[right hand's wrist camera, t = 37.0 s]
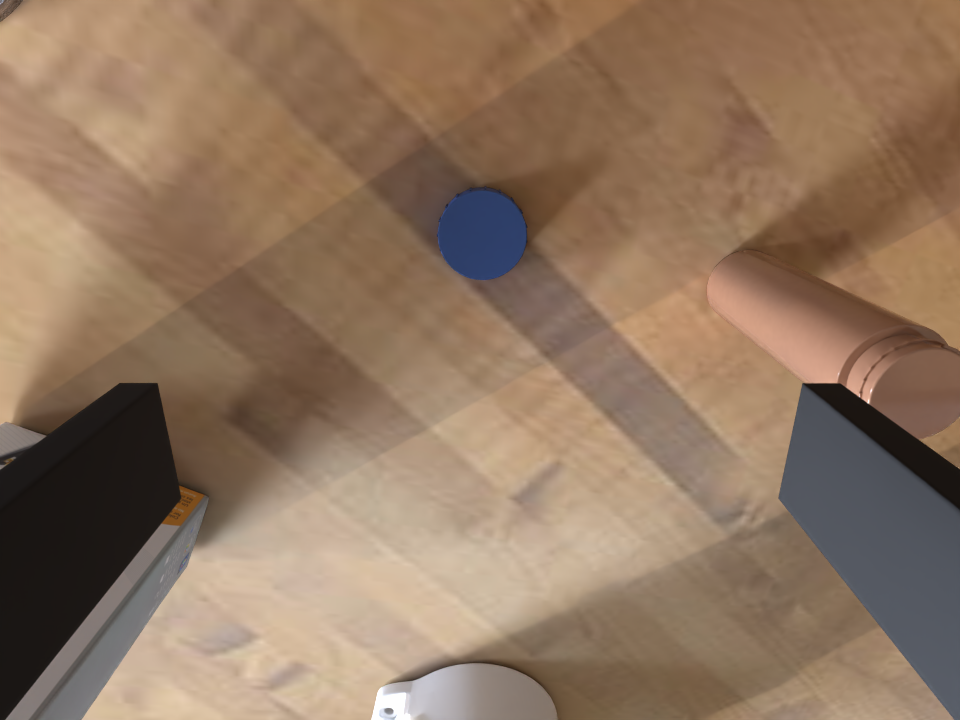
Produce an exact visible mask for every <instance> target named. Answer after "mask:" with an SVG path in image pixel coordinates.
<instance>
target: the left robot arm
mask: <svg viewBox="0 0 960 720" xmlns="http://www.w3.org/2000/svg"><path fill="white" fill-rule="evenodd" d="M372 720H558V717H557V712H556V708H555V705H554V703H553V701H552V699H551V697H550V696H549V694H548V693H547V692H546V690H545V689H544V688H543V687H542V686H541V685H540V684H538V683H537V682H536V681H535V680H533V679H532V678H530V677H528V676H527V675H525V674H523V673H521V672H518V671H516V670H513V669H511V668H507V667H504V666H499V665H494V664H485V663H468V664H459V665H454V666H449V667H446V668H442V669H439V670H437V671H434V672H432V673H430V674H428V675H426V676H424V677H422V678H419V679H417V680H414V681H406V682H397V683H392V684H388V685H385V686H383V687H381V688H380V690H379V691H378V695H377V699H376V703H375V708H374V712H373V717H372Z"/></svg>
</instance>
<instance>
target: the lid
mask: <svg viewBox="0 0 960 720" xmlns="http://www.w3.org/2000/svg"><path fill="white" fill-rule="evenodd" d="M445 208H446V209H445V211H444V213H443V215H442V217H440V219H439V222H440V223H439V228H438V234H437V237H438V243H439V247H440V251H441V253H442V255H443V257H444V259H445V260H446V262H447V263H448V264H449V265H450V266H451V267H452V268H453V269H454V270H455V271H456V272H458V273H459V274H461V275H463V276H465V277H468V278H471V279H476V280H488V279H493V278H497V277H499V276H502V275H504V274H505V273H507V272H508V271H510V270H511V269H512V268H513V267H514V266H515V265H516V264H517V263H518V261H519V260H520V258H521V257H522V255H523V252H524V250H525V246H526V243H527V229H526V228H527V225H526V223H525V220H524V218H523V216H522V214H523V212H522V210H521V209H519V208H518V206H517V205H516V203H515V202H514V200H513V198H512V197H511V198H510V197H509V196H507V195H506V194H504V193H502V192H501V190H499V191H498V190H496V189H492V188H486V186H485V187H479V188H470V189H469V190H466V191H464V192H462V193H460V194H457V195H456V197H455V198H454V199H453V200H452V201H451V202H450V203H449V204H447V205H446V207H445Z"/></svg>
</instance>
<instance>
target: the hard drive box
mask: <svg viewBox="0 0 960 720" xmlns="http://www.w3.org/2000/svg"><path fill="white" fill-rule="evenodd" d="M45 437H46V435H42V434H39V433H36V432H34V431H31V430H28V429H25V428H22V427H19V426H17V425H14V424H11V423H8V422H5V423H3V424H1V425H0V469H2V468H3V467H4V466H6V465H7V464H9V463H10V462H11V461H13V460H14V459H16V458H17V457H18V456H20V455H21V454H22V453H24V452H25V451H27V450H28V449H29V448H31V447H32V446H34V445H35V444H36V443H38V442H39V441H40V440H42V439H43V438H45ZM179 488H180V493H181V500H180V501H179V502H178V503H177V505H176V506H175V507H174V508H173V510H172V511H171V512H170V513H169V515H168V516H167V517H166V518H165V520H164V521H163V522H162V524H161V525H160V526H159V527H158V529H157V530H156V531H155V532H154V534H153V535H152V536H151V537H150V539H149V540H148V541H147V542H146V544H145V545H144V546H143V547H142V549H141V550H140V551H139V552H138V554H137V555H136V556H135V557H134V559H133V560H132V561H131V563H130V564H129V565H128V566H127V568H126V569H125V570H124V571H123V573H122V574H121V575H120V576H119V578H118V579H117V580H116V581H115V583H114V584H113V585H112V586H111V588H110V589H109V590H108V591H107V593H106V594H105V595H104V596H103V598H102V599H101V600H100V601H99V603H98V604H97V605H96V607H95V608H94V609H93V610H92V612H91V613H90V614H89V615H88V617H87V618H86V619H85V620H84V622H83V623H82V624H81V625H80V627H79V628H78V629H77V630H76V632H75V633H74V634H73V635H72V637H71V638H70V639H69V640H68V642H67V643H66V644H65V646H64V647H63V648H62V649H61V651H60V652H59V653H58V654H57V656H56V657H55V658H54V659H53V661H52V662H51V663H50V664H49V666H48V667H47V668H46V669H45V671H44V672H43V673H42V674H41V676H40V677H39V678H38V679H37V681H36V682H35V683H34V684H33V686H32V687H31V688H30V690H29V691H28V692H27V693H26V695H25V696H24V697H23V698H22V700H21V701H20V702H19V703H18V705H17V706H16V707H15V708H14V710H13V711H12V712H11V713H10V715H9V716H8V717H7V718H6V720H81V719H82V718H83V717H84V715H85V714H86V712H87V711H88V709H89V708H90V706H91V705H92V703H93V702H94V701H95V699H96V698H97V696H98V695H99V693H100V692H101V690H102V689H103V688H104V686H105V685H106V683H107V682H108V680H109V679H110V677H111V676H112V674H113V673H114V671H115V670H116V668H117V667H118V665H119V664H120V662H121V661H122V660H123V658H124V657H125V655H126V654H127V652H128V651H129V649H130V648H131V646H132V645H133V643H134V642H135V640H136V639H137V637H138V636H139V634H140V633H141V631H142V630H143V629H144V627H145V626H146V624H147V623H148V621H149V620H150V618H151V617H152V615H153V614H154V612H155V611H156V609H157V608H158V606H159V605H160V603H161V602H162V601H163V599H164V598H165V596H166V595H167V594H168V592H169V591H170V589H171V588H172V586H173V585H174V583H175V582H176V581H177V579H178V578H179V577H180V575H181V574H182V573H183V571H184V570H185V568H186V567H187V565H188V562H189V559H190V556H191V553H192V550H193V547H194V545H195V542H196V539H197V535H198V532H199V529H200V526H201V523H202V520H203V517H204V514H205V511H206V508H207V504H208V501H209V497H208V496H206V495H203V494H201V493H198V492H195V491H192V490H190V489H187V488H184V487H182V486H179Z"/></svg>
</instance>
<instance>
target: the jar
mask: <svg viewBox="0 0 960 720" xmlns="http://www.w3.org/2000/svg"><path fill="white" fill-rule="evenodd" d="M707 297H708V301H709V303H710V305H711V307H712V308H713V310H714V311H715V312H716V313H717V314H718V315H720V316H721V317H722V318H723V319H725V320H726V321H727V322H728V323H730V324H731V325H732V326H733V327H735V328H736V329H737V330H738V331H740V332H741V333H742V334H743V335H745V336H746V337H747V338H748V339H750V340H751V341H752V342H753V343H755V344H756V345H757V346H758V347H759V348H761V349H762V350H763V351H764V352H766V353H767V354H768V355H769V356H771V357H772V358H773V359H774V360H776V361H777V362H778V363H779V364H781V365H782V366H783V367H784V368H786V369H787V370H788V371H789V372H791V373H792V374H793V375H794V376H796V377H797V378H798V379H799V380H801V381H802V382H803V383H841V384H842V385H843V386H845V387H846V388H848V389H849V390H850V391H852V392H853V393H854V394H856V395H857V396H859V397H860V398H861V399H863V400H864V401H866V402H867V403H868V404H870V405H871V406H872V407H874V408H875V409H877V410H878V411H879V412H881V413H882V414H884V415H885V416H886V417H888V418H889V419H890V420H892V421H893V422H895V423H896V424H897V425H899V426H900V427H902V428H903V429H904V430H906V431H907V432H908V433H910V434H911V435H913V436H914V437H915V438H917V439H923V438H926V437H929V436H932V435H934V434H937V433H938V432H940V431H942V430H944V429H945V428H947V427H948V426H949V425H951V424H952V423H953V422H954V421H955V420H956V419H957V418H958V417H959V416H960V351H958V350H957V349H955V348H953V347H950V346H948V344H947V343H946V341H945V340H944V339H943V338H942V337H941V336H940V335H939V334H938V333H936V332H935V331H933V330H931V329H929V328H927V327H925V326H922V325H920V324H918V323H916V322H914V321H912V320H909V319H907V318H905V317H903V316H901V315H898V314H896V313H894V312H892V311H890V310H887V309H885V308H883V307H881V306H879V305H877V304H874V303H872V302H870V301H868V300H866V299H863V298H861V297H859V296H857V295H855V294H853V293H850V292H848V291H846V290H844V289H842V288H839V287H837V286H835V285H833V284H831V283H829V282H826V281H824V280H822V279H820V278H818V277H815V276H813V275H811V274H809V273H807V272H804V271H802V270H800V269H798V268H796V267H794V266H791V265H789V264H787V263H785V262H783V261H780V260H778V259H776V258H774V257H772V256H770V255H767V254H765V253H763V252H760V251H757V250H742V251H738V252H735V253H733V254H731V255H729V256H727V257H726V258H724V259H723V260H722V261H721V262H720V263H719V264H718V265H717V266H716V267H715V268H714V270H713V271H712V273H711V275H710V278H709V281H708V285H707Z"/></svg>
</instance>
